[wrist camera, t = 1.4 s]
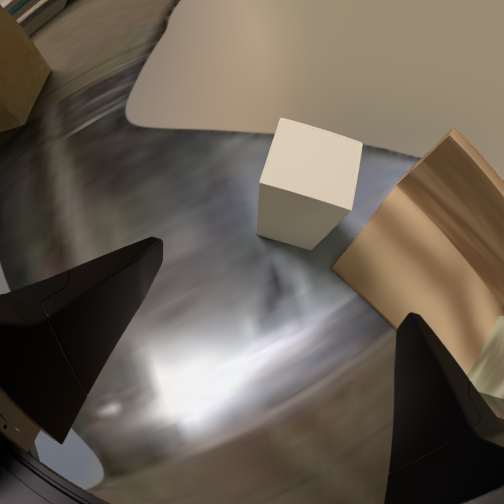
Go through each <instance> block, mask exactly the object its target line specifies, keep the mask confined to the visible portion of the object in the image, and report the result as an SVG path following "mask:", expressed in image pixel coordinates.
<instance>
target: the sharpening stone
mask: <svg viewBox="0 0 504 504" xmlns="http://www.w3.org/2000/svg"><path fill="white" fill-rule="evenodd" d="M39 1H40V0H5V1H4V2H3V3H2V4H1V6H2V7H3V8H4V9H5V10H6V11H7V12H8V13H9V14H10V15H11V16H12V17H13V18H14V19H15V20H17V19H18V18H19V17H21V16H22V15H23V14H24V13H25V12H26V11H28V10H29V9H30V8H31V7H33V6H34V5H35V4H36V3H37V2H39ZM66 2H67V0H46V1H45V2H43V3H42V4H41V5H39V6H38V7H37V8H36V9H34V10H33V11H32V12H31V13H29V14H28V15H27V16H26V17H25V18H23V19H22V20H21V21H20V22H19V23H18V24H19V25H20V26H21V27H23V28H24V30H25V32H26V33H27V34H28V36H30V35H31V34H32V33H34V32H35V31H36V30H37V29H38V28H39V27H41V26H42V25H43V24H44V23H45V22H47V21H48V20H49V19H50V18H52V17H53V16H54V15H56V14H57V13H58V12H59V11H61V10H62V9H63V8H64V7H65V5H66Z"/></svg>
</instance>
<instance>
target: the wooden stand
mask: <svg viewBox="0 0 504 504" xmlns="http://www.w3.org/2000/svg"><path fill="white" fill-rule="evenodd" d="M331 269H332V270H333V271H334V272H336V273H337V274H338V275H339V276H340V277H341V278H342V279H343V280H344V281H345V282H346V283H347V284H348V285H350V286H351V287H352V288H353V289H354V290H355V291H356V292H357V293H358V294H359V295H360V296H361V297H362V298H363V299H364V300H365V301H366V302H368V303H369V304H370V305H371V306H372V307H373V308H374V309H375V310H376V311H377V312H378V313H379V314H380V315H381V316H382V317H383V318H384V319H385V320H386V321H387V322H388V323H389V324H390V325H391V326H392V327H393V328H394V329H395V330H396V331H397V329H398V327H399V325H400V324H401V323H402V321H403V320H404V319H405V317H406V316H407V314H408V313H410V312H413V313H417V314H420V315H421V316H422V318H423V319H424V320H425V321H426V322H427V324H428V325H429V326H430V327H431V329H432V330H433V331H434V332H435V334H436V335H437V336H438V338H439V339H440V340H441V341H442V343H443V344H444V345H445V347H446V348H447V349H448V351H449V352H450V353H451V354H452V356H453V357H454V358H455V360H456V361H457V363H458V364H459V365H460V367H461V368H462V369H463V371H464V372H465V374H466V375H467V376H468V378H469V379H470V380H469V381H471V382H472V383H473V385H474V386H475V388H476V389H477V390H478V392H479V393H480V395H481V396H482V397H483V399H484V400H485V401H486V403H487V404H488V405H489V407H490V408H491V409H492V411H493V412H494V413H495V415H496V416H497V417H499V418H502V419H504V182H503V181H502V179H501V178H500V177H499V176H498V174H497V173H496V172H495V171H494V169H493V168H492V167H491V166H490V165H489V163H488V162H487V161H486V160H485V159H484V157H483V156H482V155H481V154H480V153H479V152H478V151H477V150H476V149H475V147H474V146H473V145H472V144H471V143H470V142H469V141H468V140H467V139H466V138H465V137H464V136H463V135H462V134H461V133H460V132H459V131H458V130H457V129H456V128H455V127H454V128H453V129H452V130H450V131H449V132H448V133H447V134H446V135H445V136H444V137H443V138H442V139H441V140H440V141H439V142H438V143H437V144H436V145H435V146H434V147H433V148H432V149H431V150H430V151H429V152H428V153H427V154H426V155H425V156H424V157H423V158H422V159H421V160H420V161H419V162H418V163H416V164H415V165H414V166H413V167H412V168H411V169H410V170H409V171H408V172H407V173H406V174H405V175H404V176H403V177H402V178H401V179H399V181H398V182H397V183H396V185H395V186H394V188H393V189H392V190H391V192H390V193H389V194H388V196H387V197H386V198H385V200H384V201H383V202H382V204H381V205H380V206H379V208H378V209H377V210H376V212H375V213H374V214H373V216H372V217H371V218H370V220H369V221H368V222H367V223H366V225H365V226H364V227H363V229H362V230H361V231H360V232H359V234H358V235H357V236H356V237H355V239H354V240H353V241H352V242H351V244H350V245H349V246H348V247H347V249H346V250H345V251H344V252H343V254H342V255H341V256H340V257H339V258H338V260H337V261H336V262H335V263H334V264H333V266H332V267H331Z"/></svg>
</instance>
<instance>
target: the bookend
mask: <svg viewBox="0 0 504 504" xmlns="http://www.w3.org/2000/svg"><path fill="white" fill-rule="evenodd" d="M362 144H363V143H361V142H359V141H356V140H353V139H350V138H347V137H344V136H341V135H338V134H335V133H332V132H329V131H326V130H323V129H320V128H316V127H313V126H310V125H306V124H303V123H299V122H295V121H292V120H288V119H284V118H280V121H279V124H278V127H277V130H276V133H275V136H274V139H273V142H272V145H271V148H270V151H269V154H268V157H267V160H266V163H265V167H264V170H263V173H262V176H261V179H260V182H259V197H258V215H257V233H256V235H260V236H263V237H267V238H270V239H273V240H277V241H280V242H284V243H287V244H290V245H294V246H297V247H301V248H304V249H307V250H312V249H313V248H314V247H315V246H316V245H317V244H318V243H319V242H320V241H321V240H322V239H323V238H324V237H325V236H326V235H327V234H328V233H329V232H331V231H332V230H333V229H334V228H335V227H336V226H337V225H338V224H339V223H340V222H341V220H342V219H343V218H344V217H345V216H346V215H347V214H348V213H349V212H350V211H351V210H352V205H353V200H354V194H355V189H356V183H357V177H358V171H359V164H360V158H361V151H362Z"/></svg>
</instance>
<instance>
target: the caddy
mask: <svg viewBox="0 0 504 504" xmlns="http://www.w3.org/2000/svg"><path fill="white" fill-rule="evenodd" d="M50 72H51V68H50V67H49V65H48V64H47V63H46V61H45V60H44V58H43V57H42V55H41V54H40V52H39V51H38V49H37V48H36V47H35V45H34V44H33V42H32V40H31V39H30V37H29V36H28V34H27V33H26V32H25V30H24V28H23V27H21V26H20V25H19V24H18V22H17V21H16V20H15V19H14V18H13V17H12V16H11V15H10V14H9V13H8V12H7V11H6V10H5V9H4V8H3V7H2V6H1V5H0V132H3V131H6V130H9V129H12V128H16V127H19V126H23V125H24V124H26V121H27V119H28V116H29V114H30V112H31V110H32V108H33V105H34V103H35V101H36V99H37V97H38V95H39V93H40V92H41V90H42V88H43V86H44V84H45V81H46V79H47V77H48V75H49V74H50Z"/></svg>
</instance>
